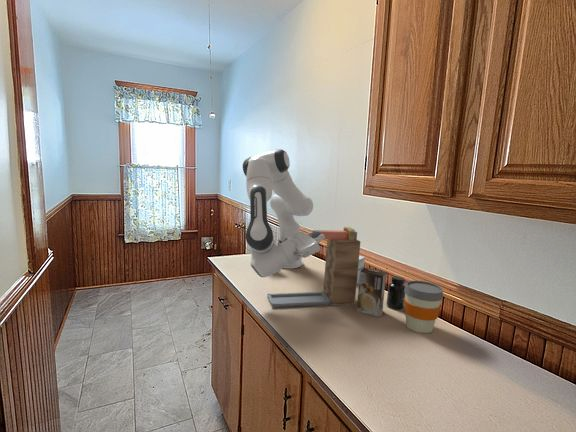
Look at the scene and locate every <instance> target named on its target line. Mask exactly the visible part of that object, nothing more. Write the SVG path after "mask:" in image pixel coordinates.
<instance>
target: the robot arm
mask: <svg viewBox="0 0 576 432" xmlns="http://www.w3.org/2000/svg"><path fill="white" fill-rule="evenodd" d="M290 162H291V161H290V157H289V155H288V153H287V151H286V150H284V149H281V148H280V149H275V150H269V151H265V152H262V153H259V154H256V155H253V156H250V157H247V158H246V159H244V161H243V163H242V172H243V174H244V175H245V177H246V180H245V182H246V193H247V196H248V199H249V202H250V203H249V206H250V209H249V210H250V211H249V212H250V214H249V215H250V219H249V220H250V221H249V223H248V226H247V227H246V228H247V229H246V231H245V241H246V243H247V244H248V246H250V253H251V254H250V255H251V260H250V261H251V262H250V266H251V268H252V269H253V271H254V273H256V275H258V277H261V278H267V277H270V276H272V275H274V274H277V272H280V271H281V270H282V269H297V268H299V267H301V266H305V263H304V261H303V258H304V259H305V258H309V257H311V256H313V255H314V254H317V253H318V252H319V251H320V250H321V246H320V245H319V244H320V243H321V242H322V240H325V239H324V238H325V236H324V234H320V235H319V236H318V237H317V238H314V239H313V238H312V232H308V233H306V232H304V231H302V230H301V227H300V224H299V222H297V221H296V220H295V218H294V216H296V217H307V216H309V215H310V214H311V213H312V212H313V210H314V202H313V200H312V199H311V198H310V197H308V196H307V195H306V194H304V193H303V191H301V190H300V189H299V188H298V187H297V185H296V184H295V182H294V181H293V179H292V177H291V174H290V172H289V168H290V165H291V164H290ZM273 193H274V194H273ZM268 201H270V202H269V203H270V204H269V205H270V208H271V209H272V210H273V212H274V213H275V215H276V217H277V220H278V221H277V222H278V226H279V227H278V229H279V230H278V231H279V232H278V239H277V244H276V243H275V242H276V241H275V238H274V237H273V234H274V233H273V229H272V227H271V225H270V224H269V221H268V208H267V207H268V205H267V204H268Z"/></svg>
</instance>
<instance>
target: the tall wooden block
mask: <svg viewBox="0 0 576 432" xmlns="http://www.w3.org/2000/svg"><path fill="white" fill-rule="evenodd" d="M342 231H349V235H348V239H326V241H327V243H326V252H325V253H326V254H325V265H324V266H325V267H324V278H323V291H322V292H324V294H325V295H326V296H327V297H328V298H329V299H330V300H331V305H330V306H337V305H338V306H340V305H355V302H356V292H357V285H358V284H357V273H358V263H359V256H360V250H361V241H360V240H358V239H357V240H355V239H354V232H355V231H356V230H355V229H354V228H352V227H350V226H343V230H342ZM356 284H357V285H356Z"/></svg>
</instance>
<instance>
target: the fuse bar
mask: <svg viewBox="0 0 576 432" xmlns="http://www.w3.org/2000/svg"><path fill="white" fill-rule="evenodd" d="M320 234H324V236H325V238H324V239H323V240H327V239H348V235H349V231H343V230H320V229H318V230H317V229H315V230H312V238H313V239H314V238H317V237H318V236H319V235H320ZM357 238H358V231H356V230H355V232H354V239H355V240H358V239H357Z"/></svg>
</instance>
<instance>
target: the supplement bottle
mask: <svg viewBox="0 0 576 432" xmlns="http://www.w3.org/2000/svg"><path fill="white" fill-rule="evenodd" d="M405 286H406V284H405V278H404V277H402V276H398V275H397V276H396V275H393V276H392V277H391V282H390V283H389V284H388V286H387V287H388V288H387V294H386V295H387V297H386V306H387V307H388V308H389V309H393V310H402V309H403V310H404V298H405V292H404V290H405Z"/></svg>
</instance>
